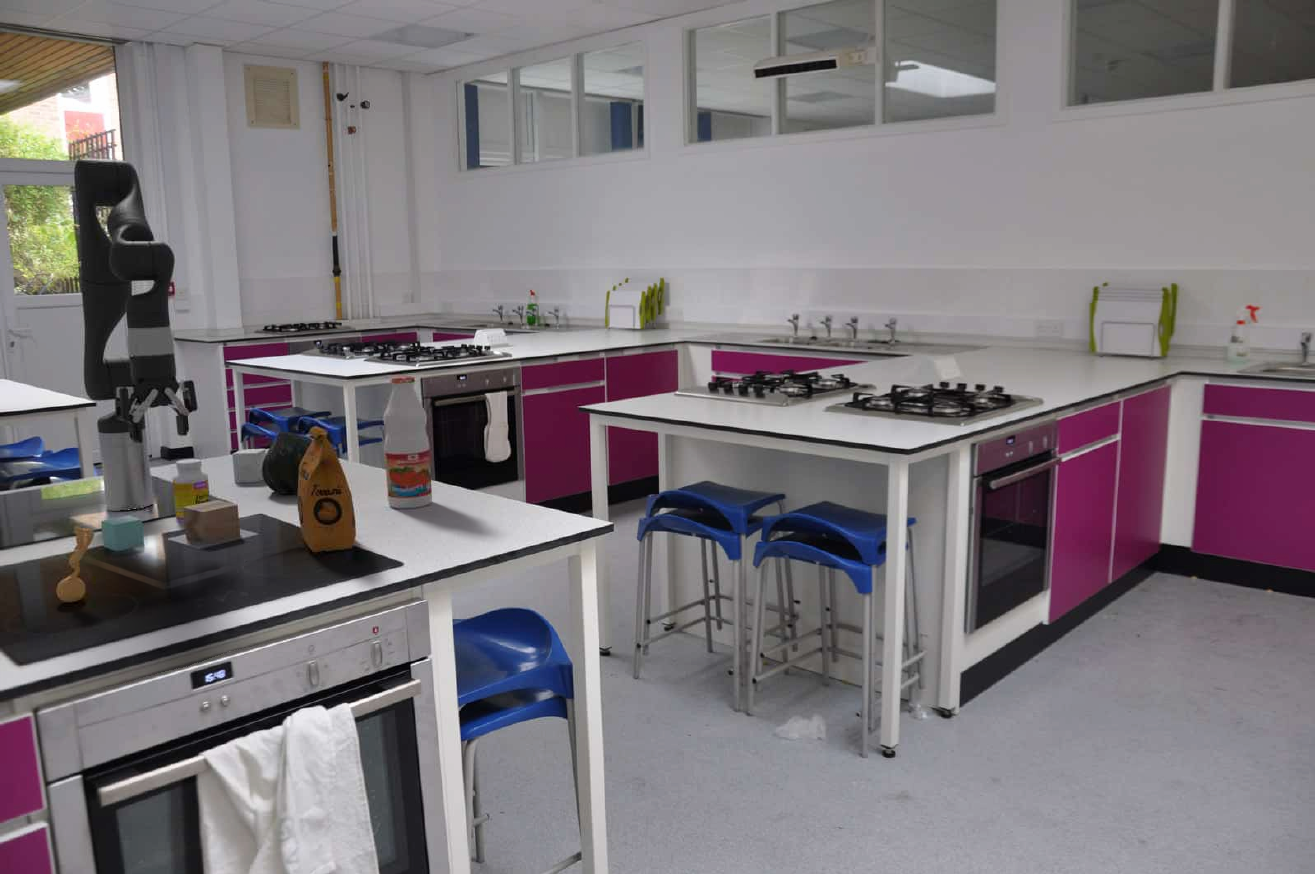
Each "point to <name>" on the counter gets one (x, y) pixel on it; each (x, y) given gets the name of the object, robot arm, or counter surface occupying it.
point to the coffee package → (324, 497)
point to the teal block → (122, 533)
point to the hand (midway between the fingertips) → (160, 438)
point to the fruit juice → (406, 447)
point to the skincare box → (248, 465)
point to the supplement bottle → (189, 486)
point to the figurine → (73, 586)
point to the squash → (284, 462)
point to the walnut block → (211, 521)
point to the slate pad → (200, 545)
